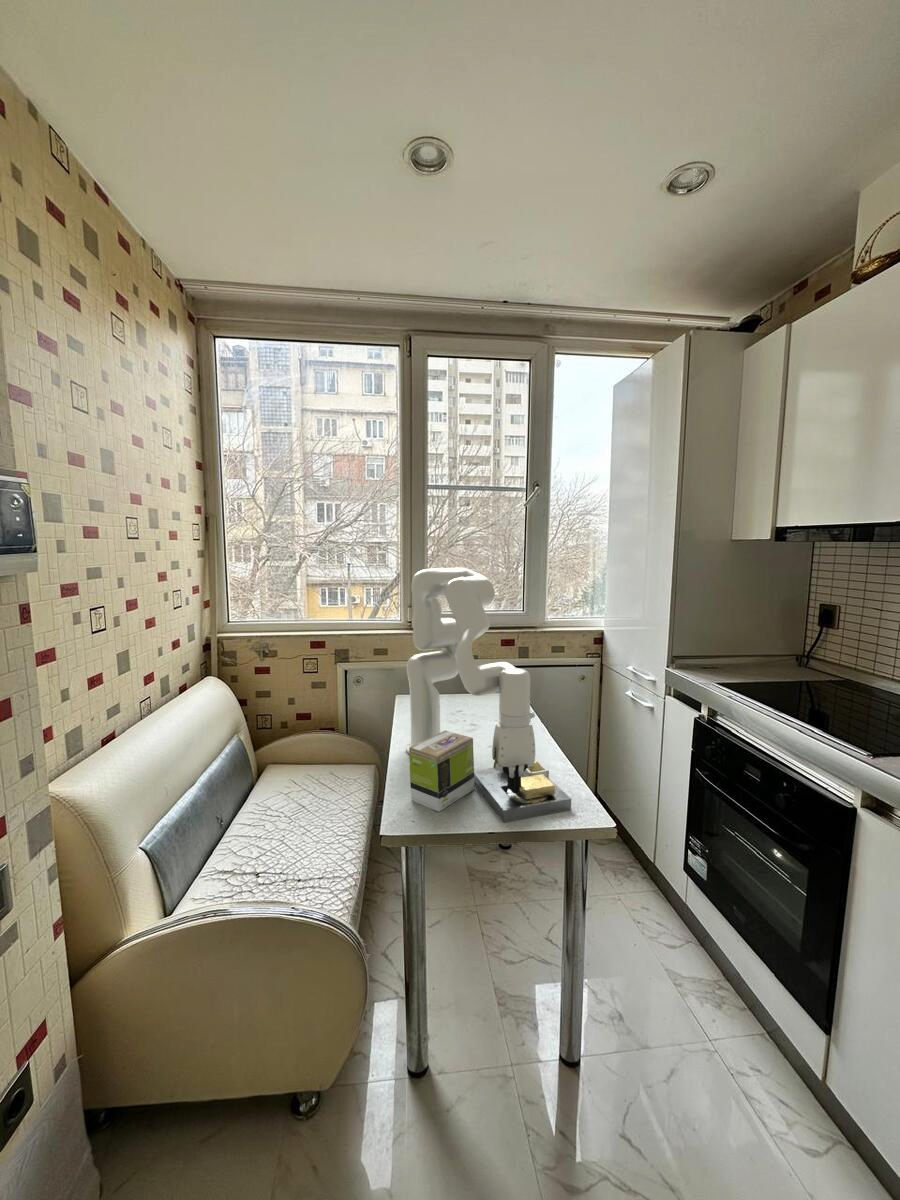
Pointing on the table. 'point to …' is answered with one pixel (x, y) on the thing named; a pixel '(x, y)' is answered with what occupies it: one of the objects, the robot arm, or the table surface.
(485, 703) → the table surface
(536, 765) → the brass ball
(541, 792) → the brass cover
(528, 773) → the parts tray
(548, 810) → the bearing plate
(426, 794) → the tea box
